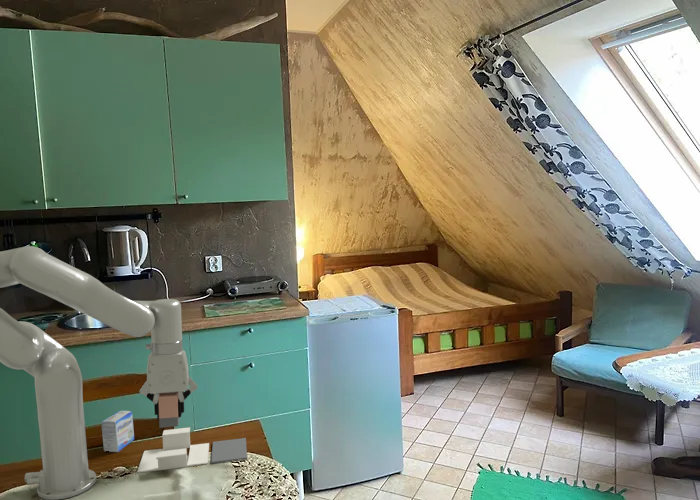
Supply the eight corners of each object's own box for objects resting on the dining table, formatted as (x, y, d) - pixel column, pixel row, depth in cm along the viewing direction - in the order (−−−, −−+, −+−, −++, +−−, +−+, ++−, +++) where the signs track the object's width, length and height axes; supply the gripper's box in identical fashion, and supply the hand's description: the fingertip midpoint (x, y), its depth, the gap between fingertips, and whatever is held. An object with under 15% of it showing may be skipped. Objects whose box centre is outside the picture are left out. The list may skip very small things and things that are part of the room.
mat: (211, 463, 141) (211, 462, 141) (212, 443, 153) (212, 441, 153) (247, 459, 143) (247, 457, 143) (245, 439, 155) (245, 437, 154)
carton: (135, 477, 135) (134, 460, 135) (145, 448, 151) (144, 432, 151) (207, 468, 139) (206, 451, 138) (209, 440, 155) (208, 425, 154)
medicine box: (117, 453, 149) (115, 422, 148) (103, 451, 150) (100, 421, 149) (134, 440, 157) (132, 410, 156) (120, 439, 157) (118, 409, 157)
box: (159, 427, 140) (158, 397, 139) (162, 418, 146) (161, 389, 145) (177, 426, 141) (176, 395, 140) (180, 417, 147) (179, 388, 146)
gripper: (129, 353, 136) (132, 424, 138) (200, 349, 140) (202, 418, 141) (135, 345, 144) (137, 413, 145) (201, 341, 147) (204, 408, 149)
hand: (169, 415), depth 143 cm, fingers closed on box, 4 cm apart
